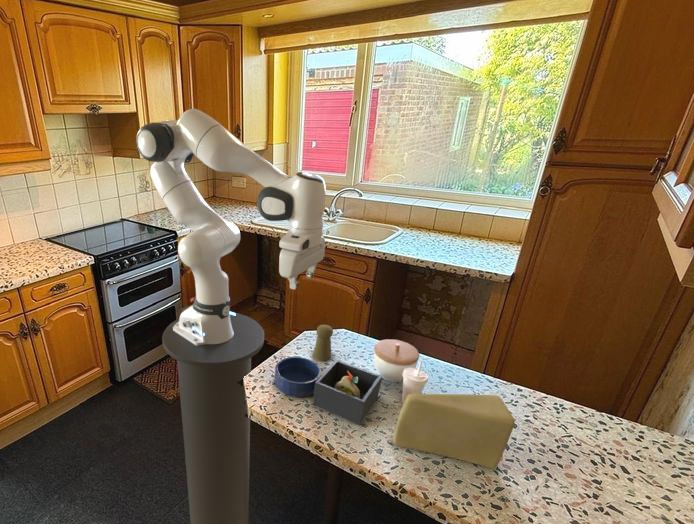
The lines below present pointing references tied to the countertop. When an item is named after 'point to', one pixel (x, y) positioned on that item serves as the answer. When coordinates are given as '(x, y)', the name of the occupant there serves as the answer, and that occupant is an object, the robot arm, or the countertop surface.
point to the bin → (342, 401)
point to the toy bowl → (297, 376)
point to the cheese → (455, 426)
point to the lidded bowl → (394, 358)
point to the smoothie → (413, 381)
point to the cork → (323, 343)
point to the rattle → (348, 385)
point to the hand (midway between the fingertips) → (301, 282)
